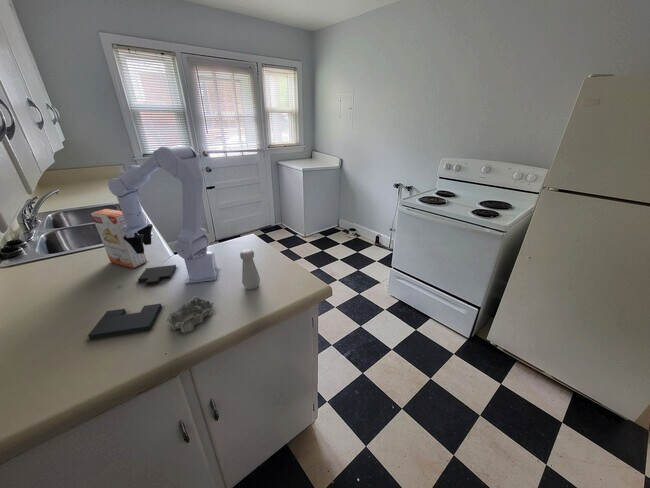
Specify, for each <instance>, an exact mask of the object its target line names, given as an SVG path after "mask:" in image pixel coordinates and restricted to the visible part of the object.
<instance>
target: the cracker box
mask: <svg viewBox="0 0 650 488" xmlns="http://www.w3.org/2000/svg"><path fill="white" fill-rule="evenodd" d="M90 215H91V217H92V221H93V223H94V225H95V227H96V230H97V232H98V234H99V237H100V240H101V242H102V245H103V247H104V250H105V252H106V255H107V257H108V259H109V262H110V263H113V264H117V265H120V266H122V267H123V266H124V267H127V268H131V269H135V268H138V267H139V266H142V265H143V264H145V263H147V262H148V261H147V257H146V254H145V252H144V253H141V254H137V253H136V252H135V250H134V249H133V247H132V246H131V245H130V244H129V243H128V242H127V241H125V240H124V238H123V237H124V236H125V235H126V234H125V232H126V228H125V229H124V228H123V226H124V225H126V222H125V219H124V217H123V214H122V211H121V210H117V209H111V208H104V209H100V210H96V211H93V212H92V211H91V212H90ZM136 233H137V234H138V232H136ZM138 235H139V234H138Z"/></svg>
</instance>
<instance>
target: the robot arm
mask: <svg viewBox="0 0 650 488" xmlns="http://www.w3.org/2000/svg"><path fill="white" fill-rule="evenodd" d="M199 161H200V155H199V154H198V153H197V151H195V149H194V148H193V147H192V146H191V145H189V144H180V145H173V146H160V147H158V148H157V149H156V150H154V151H152V154H151V155H150V156H149V157H148V158H147V159H146V160H145V161H143V162H142V164H140V165H138V164H135V165H134V164H131V165H128V166H127V170H126V171H123V172H121V173H119V176H118V177H112V178H109V180H108V182H107V187H108V190H109V191H110V193H111V194H112V195H113V196H115V197H116V199H117V202H118V204H119V207H120V211H122V214H123V217H124V219H125V222H126V225H124V226H123V228H124V229H125V228H126V232H125V234H126V235H125V236H124V237H123V238H124V240H125V241H127V242H128V243H129V244H130V245H131V246H132V247H133V249H134V250H135V252H136V253H137V254H141V253H144V254H145V246H149V245H152V230H153V224H152V223H149V220H148V218H147V217H145V214H144V210H143V208H142V205H141V202H140V188H141V187H142V186H144V185H146V183H148V182H149V181H150V179H151V175H152V174H153V173H155V172H156V171H158V170H160V169H162V170H164V171H166V172H167V173H168V174H170V175H171V176H172V177H174V178H175V179H177V180H179V181H180V182H181V186H182V187H181V190H182V191H181V193H182V199H181V201H182V229H181V231H180V233H179V234H178V236H177V242H176V243H175V245H174V246H175V247H174V248H175V252H176V254H177V255H178V256H179V257H180V258H182V259H183V260H184V263H185V267H186V271H187V275H188V276H187V278H186V280H185V284H194V283H195V284H196V283H203V282H209V281H215V280H216V279H217V275H218V271H219V269H218V265H217V261H216V255H215V253H214V252H213V251H208V247H209V245H210V240H209V237H208V230H206V229H205V228H203V227H202V226H203V185H204V184H203V183H204V181H203V180H204V179H203V178H204V177H203V174H202V170H201V167H200V165H199V164H200V163H199ZM136 232H137V233H138V234H137V233H136Z"/></svg>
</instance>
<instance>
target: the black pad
mask: <svg viewBox="0 0 650 488" xmlns="http://www.w3.org/2000/svg"><path fill="white" fill-rule="evenodd" d="M176 270H177V265H176V264H172V265H162V266H154V267H146V268H145V269H144V271H143V272H142V274H140V276H139V277H138V278H137V281H138V283H139V284H143V283H145V285H146V287H149V286H158V285H159V284H160V282H161V281H167V280H172V277H173V276H174V274H175V272H176Z"/></svg>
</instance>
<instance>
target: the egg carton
mask: <svg viewBox="0 0 650 488" xmlns="http://www.w3.org/2000/svg"><path fill="white" fill-rule="evenodd" d="M213 305H215V304H214V302H210V300H206V299H203V298H201V297H199V296H196V295H195V296H194V297H193V298H192V299H190V301H188V302H186V303H185V304H183V305H182V306H180V307H179V308H177V309H176V310H175V311H173V312H170V313H169V314H168V316H167V318H166V322H169V323H170V326H171V329H172V330H174V331H176V330H177V329H180V330H181V333H183V334H185V333H187V332H192V331H193V330H195V325H198V324H202V323H203V322H204V318H205V317H210V316H212V315H213Z"/></svg>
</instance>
